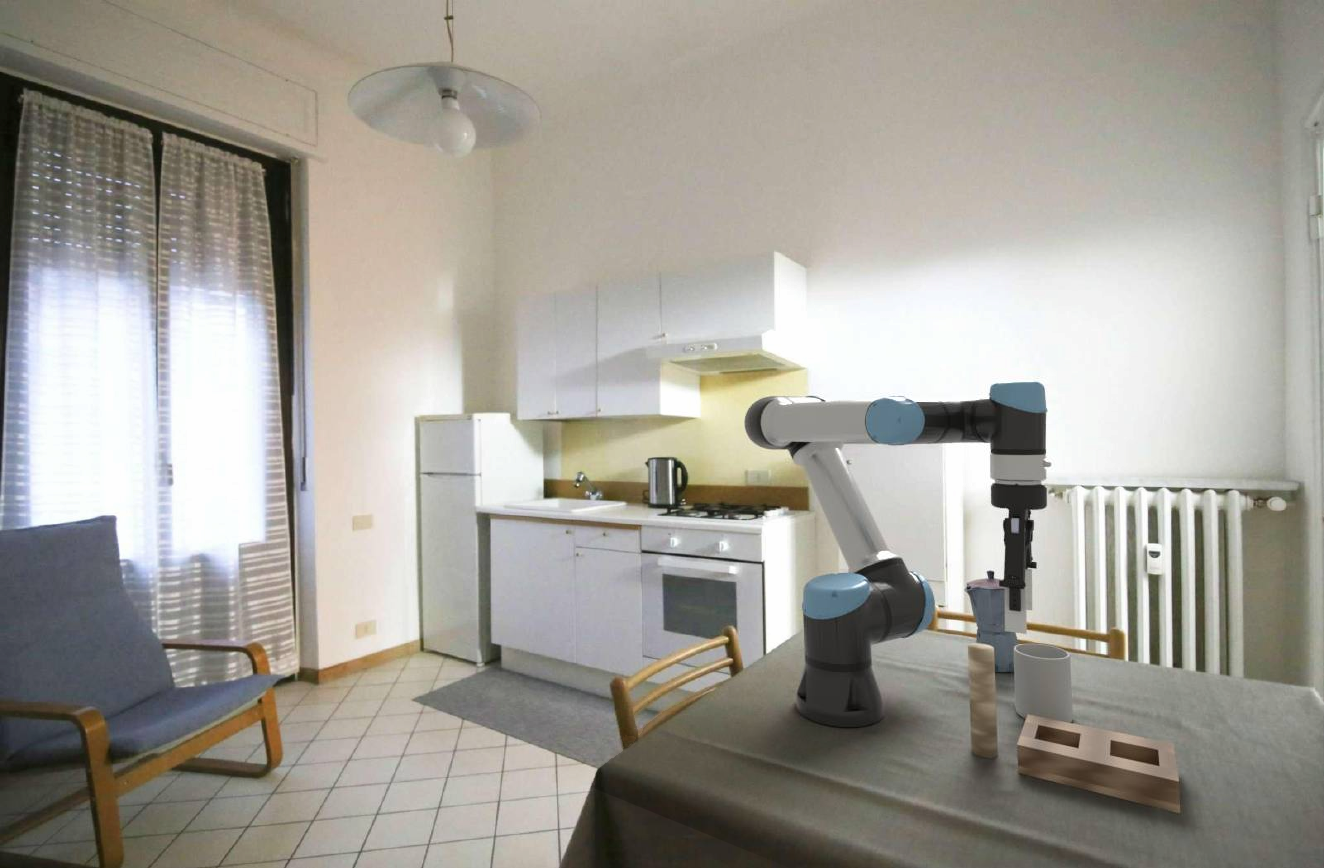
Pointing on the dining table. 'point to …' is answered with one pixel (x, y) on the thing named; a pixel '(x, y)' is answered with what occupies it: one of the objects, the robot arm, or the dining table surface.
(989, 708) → the pin
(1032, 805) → the dining table surface
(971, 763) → the dining table surface
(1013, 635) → the moka pot
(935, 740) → the dining table surface
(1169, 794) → the bore block
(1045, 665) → the mug
